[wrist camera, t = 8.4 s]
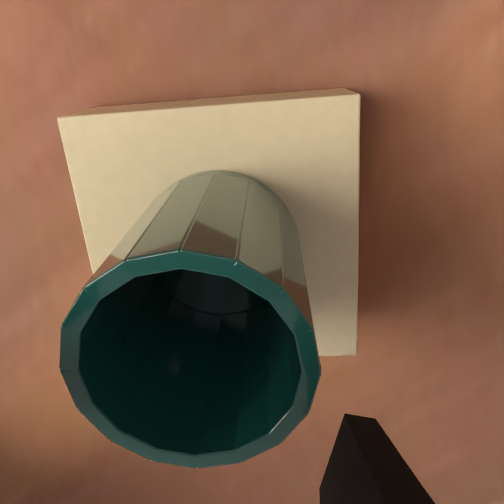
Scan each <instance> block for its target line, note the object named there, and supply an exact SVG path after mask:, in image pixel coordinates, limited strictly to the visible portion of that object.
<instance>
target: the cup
mask: <svg viewBox="0 0 504 504" xmlns="http://www.w3.org/2000/svg"><path fill="white" fill-rule="evenodd" d="M60 372H61V374H62V376H63V378H64V381H65V383H66V385H67V387H68V390H69V392H70V394H71V396H72V399H73V401H74V403H75V405H76V407H77V408H78V410H79V411H80V412H81V413H82V414H83V415H84V416H85V417H86V418H87V419H88V420H89V421H90V422H91V423H92V424H93V425H94V426H95V427H96V428H97V429H98V430H99V431H100V432H101V433H102V434H103V435H104V436H105V437H106V438H107V439H109V440H110V441H111V442H113V443H115V444H117V445H119V446H121V447H123V448H125V449H127V450H129V451H131V452H134V453H136V454H138V455H140V456H142V457H144V458H146V459H148V460H152V461H154V462H160V463H166V464H172V465H178V466H184V467H190V468H196V467H197V468H205V467H213V466H220V465H228V464H236V463H241V462H244V461H246V460H248V459H250V458H253V457H255V456H257V455H259V454H261V453H263V452H265V451H267V450H269V449H271V448H273V447H275V446H277V445H279V444H280V443H282V442H283V441H284V440H285V439H286V438H287V437H288V435H289V434H290V433H291V432H292V431H293V430H294V429H295V428H296V427H297V426H298V424H299V423H300V422H301V421H302V420H303V419H304V418H305V417H306V416H307V415H308V413H309V411H310V409H311V406H312V403H313V399H314V396H315V393H316V389H317V386H318V383H319V379H320V376H321V364H320V358H319V352H318V346H317V340H316V334H315V328H314V323H313V317H312V311H311V305H310V299H309V293H308V287H307V281H306V275H305V269H304V263H303V257H302V252H301V246H300V241H299V235H298V230H297V226H296V223H295V221H294V219H293V216H292V215H291V213H290V211H289V209H288V208H287V206H286V205H285V204H284V202H283V201H282V200H281V198H279V197H278V196H277V195H276V194H275V193H274V192H273V191H272V190H271V189H269V188H268V187H267V186H265V185H264V184H262V183H261V182H259V181H257V180H255V179H253V178H251V177H248V176H246V175H242V174H239V173H235V172H228V171H207V172H200V173H196V174H193V175H189V176H187V177H185V178H182V179H180V180H178V181H177V182H175V183H173V184H172V185H170V186H169V187H168V188H167V189H165V190H164V191H163V192H162V193H161V194H160V195H159V196H157V197H156V198H155V199H154V200H153V201H152V203H151V204H150V205H149V206H148V208H147V209H146V210H145V211H144V213H143V214H142V215H141V216H140V218H139V219H138V220H137V221H136V222H135V224H134V225H133V226H132V227H131V229H130V230H129V231H128V232H127V234H126V235H125V236H124V237H123V239H122V240H121V241H120V242H119V243H118V245H117V246H116V247H115V248H114V250H113V251H112V252H111V253H110V255H109V256H108V257H107V258H106V260H105V261H104V262H103V263H102V264H101V266H100V267H99V268H98V269H97V271H96V272H95V273H94V274H93V276H92V277H91V278H90V279H89V280H88V282H87V283H86V284H85V285H84V287H83V288H82V289H81V291H80V293H79V295H78V296H77V298H76V300H75V302H74V304H73V305H72V307H71V309H70V311H69V312H68V314H67V316H66V318H65V319H64V321H63V323H62V327H61V338H60Z"/></svg>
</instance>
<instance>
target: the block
mask: <svg viewBox="0 0 504 504" xmlns="http://www.w3.org/2000/svg"><path fill="white" fill-rule="evenodd" d="M360 97H361V96H360V94H358V93H356V92H353V91H351V90H348V89H346V88H333V89H320V90H307V91H294V92H281V93H269V94H256V95H243V96H230V97H217V98H204V99H192V100H179V101H166V102H153V103H140V104H128V105H115V106H102V107H92V108H88V109H84V110H81V111H77V112H74V113H70V114H67V115H63V116H59V117H57V121H58V125H59V129H60V134H61V138H62V142H63V147H64V151H65V155H66V160H67V164H68V168H69V173H70V177H71V181H72V186H73V190H74V194H75V199H76V203H77V207H78V212H79V216H80V220H81V224H82V229H83V233H84V237H85V242H86V246H87V250H88V255H89V259H90V263H91V268H92V272H93V274H94V273H95V272H96V271H97V269H98V268H99V267H100V266H101V264H102V263H103V262H104V261H105V260H106V258H107V257H108V256H109V255H110V253H111V252H112V251H113V250H114V248H115V247H116V246H117V245H118V243H119V242H120V241H121V240H122V239H123V237H124V236H125V235H126V234H127V232H128V231H129V230H130V229H131V227H132V226H133V225H134V224H135V222H136V221H137V220H138V219H139V218H140V216H141V215H142V214H143V213H144V211H145V210H146V209H147V208H148V206H149V205H150V204H151V203H152V201H153V200H154V199H155V198H156V197H157V196H159V195H160V194H161V193H162V192H163V191H164V190H165V189H167V188H168V187H169V186H170V185H172V184H173V183H175V182H177V181H178V180H180V179H182V178H185V177H187V176H189V175H193V174H196V173H200V172H207V171H228V172H235V173H239V174H242V175H246V176H248V177H251V178H253V179H255V180H257V181H259V182H261V183H262V184H264V185H265V186H267V187H268V188H269V189H271V190H272V191H273V192H274V193H275V194H276V195H277V196H278V197H279V198H281V200H282V201H283V202H284V204H285V205H286V206H287V208H288V209H289V211H290V213H291V215H292V216H293V219H294V221H295V223H296V226H297V230H298V235H299V241H300V246H301V252H302V257H303V263H304V269H305V275H306V281H307V287H308V293H309V299H310V305H311V311H312V317H313V323H314V328H315V334H316V340H317V346H318V352H319V357H323V356H346V355H357V324H358V248H359V172H360Z"/></svg>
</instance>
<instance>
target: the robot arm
mask: <svg viewBox="0 0 504 504" xmlns="http://www.w3.org/2000/svg"><path fill="white" fill-rule="evenodd" d="M320 504H435V503H434V501H433V500H432V499H431V497H430V496H429V495H428V493H427V492H426V490H425V489H424V488H423V486H422V485H421V483H420V482H419V481H418V479H417V478H416V476H415V475H414V473H413V472H412V471H411V469H410V468H409V466H408V465H407V464H406V462H405V461H404V459H403V458H402V456H401V455H400V453H399V452H398V451H397V449H396V448H395V446H394V445H393V443H392V442H391V440H390V439H389V437H388V436H387V435H386V433H385V432H384V430H383V429H382V427H381V426H380V425H379V423H378V422H377V420H376V419H374V418H368V417H362V416H356V415H350V414H344V417H343V420H342V423H341V426H340V429H339V432H338V435H337V438H336V441H335V444H334V447H333V450H332V453H331V456H330V459H329V462H328V465H327V468H326V471H325V474H324V477H323V480H322V483H321V486H320Z"/></svg>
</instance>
